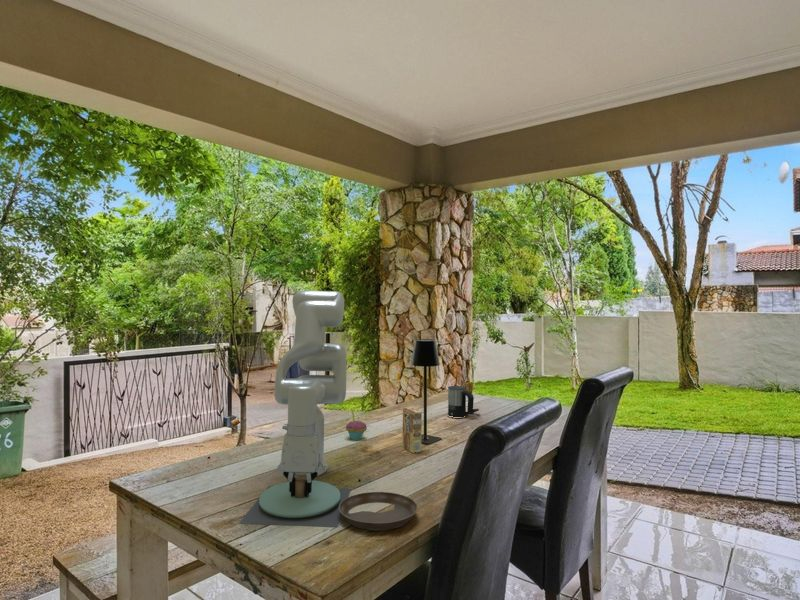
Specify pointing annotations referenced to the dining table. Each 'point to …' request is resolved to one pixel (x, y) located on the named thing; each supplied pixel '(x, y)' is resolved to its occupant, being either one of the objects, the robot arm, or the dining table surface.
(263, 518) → the mat
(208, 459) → the dining table surface
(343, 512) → the plant saucer
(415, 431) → the candy box
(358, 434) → the cupcake
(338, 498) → the lid
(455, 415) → the milk frother
